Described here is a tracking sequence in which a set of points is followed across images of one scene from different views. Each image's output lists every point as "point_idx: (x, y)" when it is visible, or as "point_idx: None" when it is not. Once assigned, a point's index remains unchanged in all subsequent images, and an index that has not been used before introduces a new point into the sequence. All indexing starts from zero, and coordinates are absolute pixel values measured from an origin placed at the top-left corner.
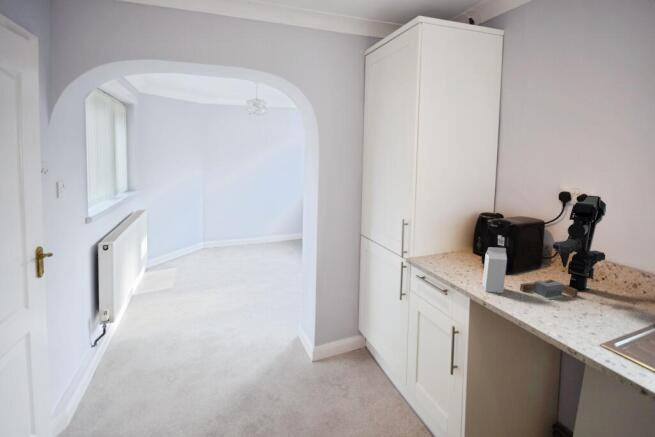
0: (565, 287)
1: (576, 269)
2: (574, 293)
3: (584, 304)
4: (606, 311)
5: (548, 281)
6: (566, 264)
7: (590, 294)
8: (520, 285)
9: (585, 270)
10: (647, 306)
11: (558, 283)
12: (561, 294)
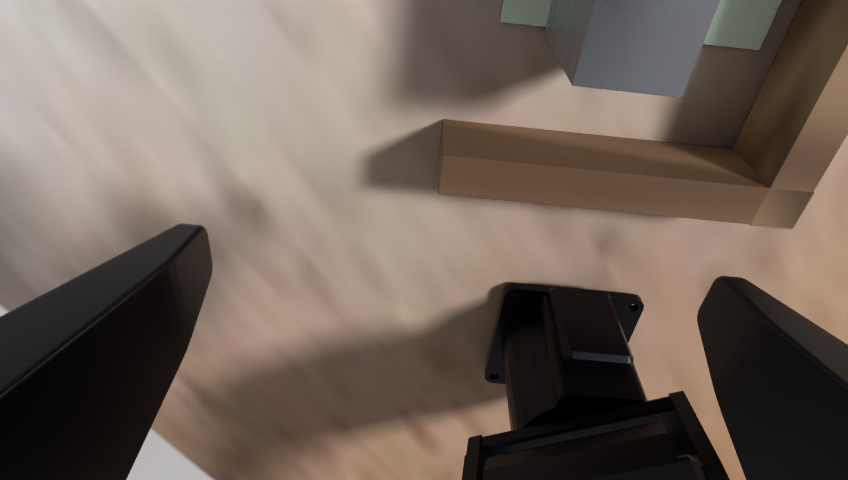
0: (574, 163)
1: (599, 458)
2: (450, 139)
3: (271, 32)
4: (79, 71)
5: (800, 139)
6: (715, 370)
7: (426, 308)
8: None
9: (106, 273)
10: None
11: (629, 36)
12: (546, 31)
